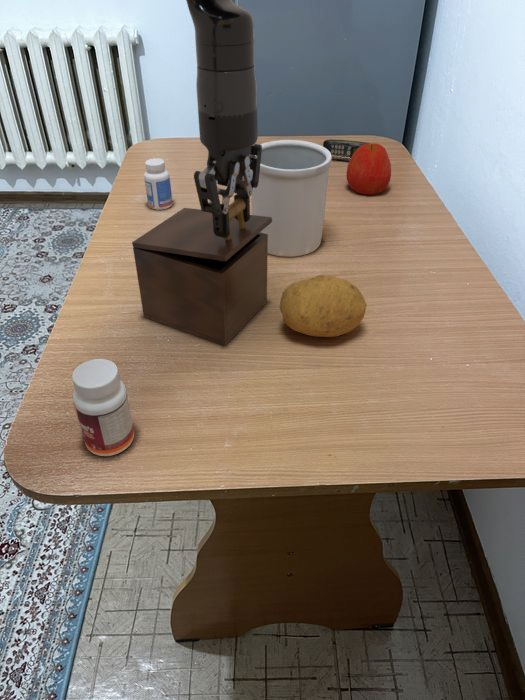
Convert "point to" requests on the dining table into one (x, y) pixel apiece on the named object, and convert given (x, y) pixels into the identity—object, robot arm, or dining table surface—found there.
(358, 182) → the apple
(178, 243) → the lid
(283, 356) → the dining table surface
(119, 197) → the dining table surface
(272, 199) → the utensil holder
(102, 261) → the dining table surface
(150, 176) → the pill bottle
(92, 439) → the pill bottle
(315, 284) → the potato
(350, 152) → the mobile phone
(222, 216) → the robot arm
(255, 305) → the chest
